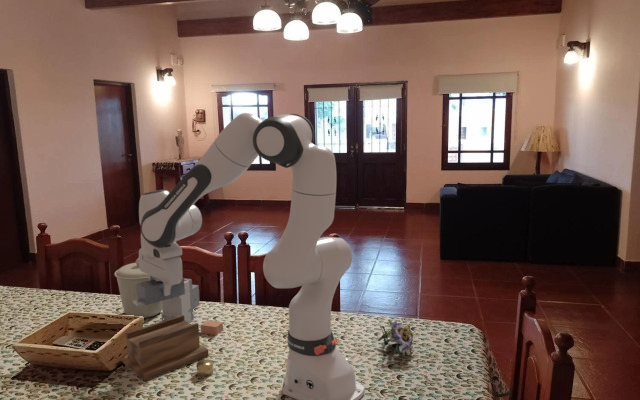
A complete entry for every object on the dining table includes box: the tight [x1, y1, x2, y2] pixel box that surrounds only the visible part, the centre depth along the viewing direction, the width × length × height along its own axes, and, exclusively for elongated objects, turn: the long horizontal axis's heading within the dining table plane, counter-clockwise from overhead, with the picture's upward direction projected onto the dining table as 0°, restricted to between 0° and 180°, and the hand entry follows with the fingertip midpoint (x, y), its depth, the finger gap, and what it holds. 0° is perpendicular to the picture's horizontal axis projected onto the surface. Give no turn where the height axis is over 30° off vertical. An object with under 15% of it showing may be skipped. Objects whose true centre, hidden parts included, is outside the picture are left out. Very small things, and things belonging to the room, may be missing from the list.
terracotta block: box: [200, 319, 224, 336], centre depth 161 cm, size 6×4×3 cm, turn 71°
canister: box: [114, 257, 163, 319], centre depth 175 cm, size 18×18×21 cm
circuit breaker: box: [160, 278, 200, 324], centre depth 170 cm, size 8×14×15 cm, turn 164°
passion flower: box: [377, 319, 414, 357], centre depth 146 cm, size 11×11×12 cm
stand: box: [122, 315, 209, 382], centre depth 142 cm, size 16×20×10 cm
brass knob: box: [196, 359, 214, 378], centre depth 134 cm, size 4×4×3 cm
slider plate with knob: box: [133, 276, 188, 306], centre depth 139 cm, size 16×6×6 cm, turn 135°
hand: (160, 292), depth 139 cm, fingers closed on slider plate with knob, 5 cm apart
